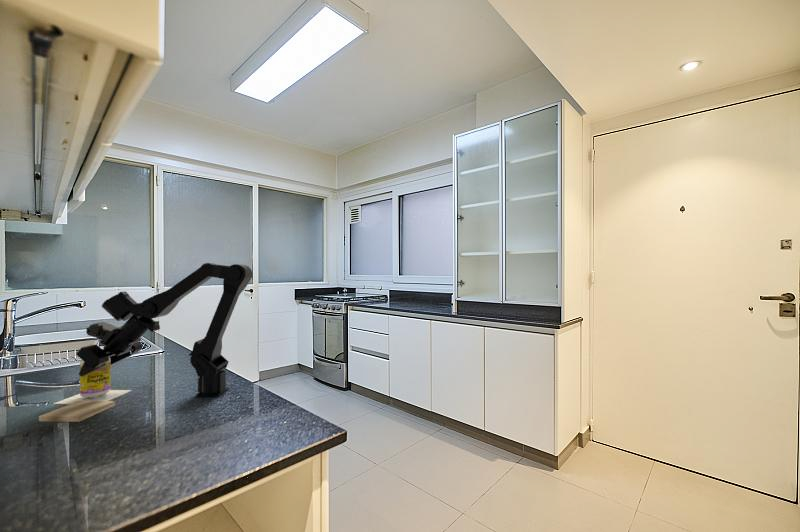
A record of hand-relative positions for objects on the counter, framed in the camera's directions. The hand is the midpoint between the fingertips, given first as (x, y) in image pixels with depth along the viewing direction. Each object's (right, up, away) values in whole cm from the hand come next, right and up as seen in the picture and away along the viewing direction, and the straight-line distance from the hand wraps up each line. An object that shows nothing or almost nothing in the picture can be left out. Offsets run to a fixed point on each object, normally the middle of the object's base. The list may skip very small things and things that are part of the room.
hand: (90, 371), depth 100 cm
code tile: (+1, -7, 0) cm, 7 cm away
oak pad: (+7, -7, -11) cm, 15 cm away
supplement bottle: (+1, -7, 0) cm, 7 cm away
